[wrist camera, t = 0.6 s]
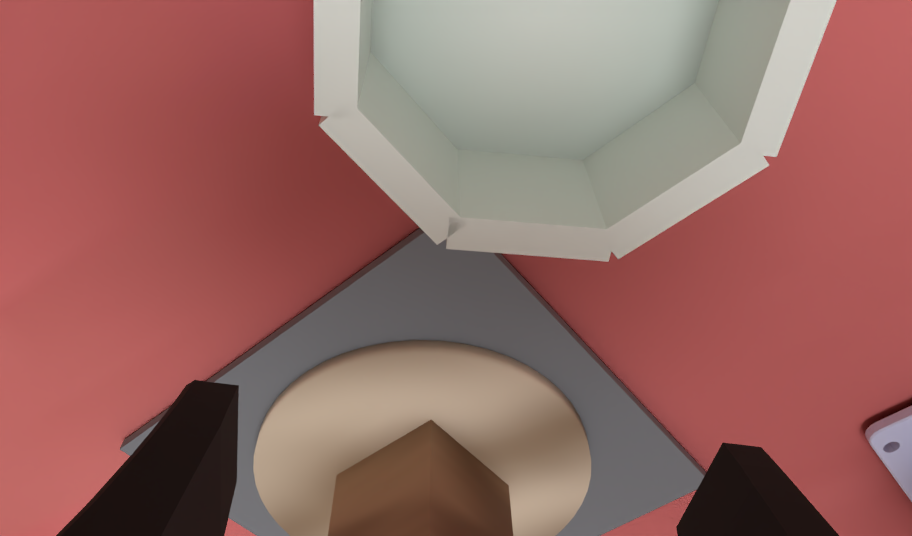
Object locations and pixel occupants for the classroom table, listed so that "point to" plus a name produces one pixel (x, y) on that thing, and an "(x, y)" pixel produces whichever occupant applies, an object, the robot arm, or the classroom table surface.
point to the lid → (422, 446)
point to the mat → (474, 323)
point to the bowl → (560, 110)
